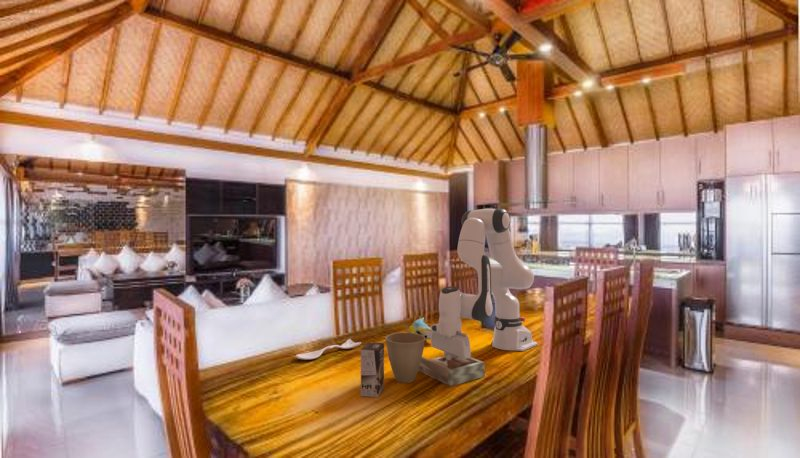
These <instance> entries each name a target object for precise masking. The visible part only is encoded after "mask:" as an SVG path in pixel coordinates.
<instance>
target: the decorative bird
mask: <svg viewBox="0 0 800 458" xmlns="http://www.w3.org/2000/svg"><path fill="white" fill-rule="evenodd" d="M405 329H406V332H407V333H416V334H420V335H423V336H424V337H425V341H428V340H429V341H431V332H432V330H431V326H428V324H426V322H425V317H422V318H418V319H416V320H415V321H413V323H412V324H411V325H410V326H406V327H405ZM408 329H409V330H408Z"/></svg>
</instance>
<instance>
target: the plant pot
mask: <svg viewBox="0 0 800 458" xmlns="http://www.w3.org/2000/svg"><path fill="white" fill-rule="evenodd" d="M385 342H386V349H387V350H386V351H387V357H388V361H389V363H390V368H391V371H392V374H393V376H394V379H395V381H396V382H397V383H401V384H409V383H413V382H414V381H415V380H416V378H417V375H418V372H419V371H418V369H419V366H420V363H421V359H422V357H423V353H424V348H425V342H426V340H425V337H424V336H423V335H420V334H416V333H409V332H395V333H394V332H393V333H391V334H387V335H386V336H385Z"/></svg>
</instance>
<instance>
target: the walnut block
mask: <svg viewBox="0 0 800 458" xmlns="http://www.w3.org/2000/svg"><path fill="white" fill-rule="evenodd" d="M469 364H470V361H468V360H466V359H462V358H459V357H457V358H453V359H449V360H448V368H450V369H454V368H458V367H462V366H465V365H469Z"/></svg>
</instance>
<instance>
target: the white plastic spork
mask: <svg viewBox="0 0 800 458" xmlns="http://www.w3.org/2000/svg"><path fill="white" fill-rule="evenodd" d="M361 344H362V342H361V341H359V342H354V340H352V339H351V338H349V339H347V340H346V341H344V343H342V344H341V345H339V344H333V345H328V346H327V345H326V347H323V348H321V349H317V350H314V351H309V352H303V353H298V354H296V355H295V358H296V359H298V360H302V361H303V360H304V361H310V360H312V361H313V360H315V359H317V358H319V357H321V355H322V354H323V352H325V351H326V350H331V349H334V348H338V349H341V350H348V349H352V348H354V347H357V346H360V345H361Z"/></svg>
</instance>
